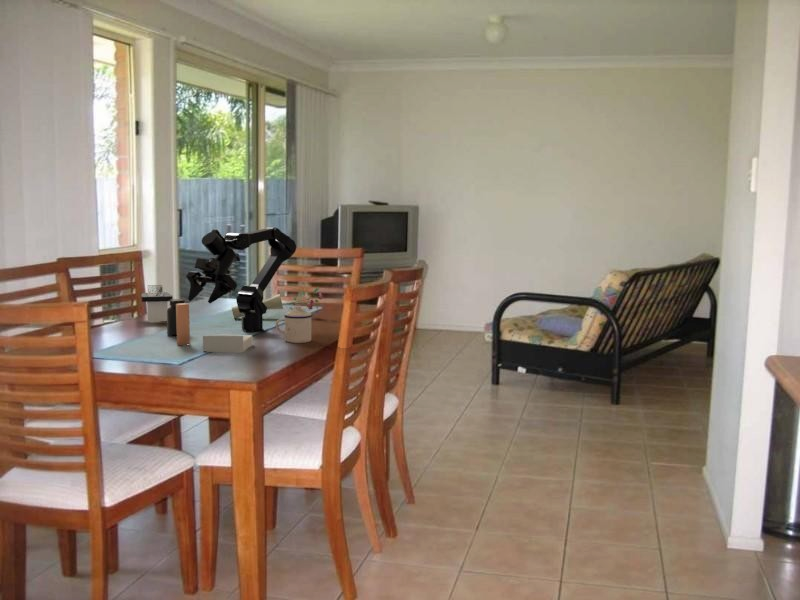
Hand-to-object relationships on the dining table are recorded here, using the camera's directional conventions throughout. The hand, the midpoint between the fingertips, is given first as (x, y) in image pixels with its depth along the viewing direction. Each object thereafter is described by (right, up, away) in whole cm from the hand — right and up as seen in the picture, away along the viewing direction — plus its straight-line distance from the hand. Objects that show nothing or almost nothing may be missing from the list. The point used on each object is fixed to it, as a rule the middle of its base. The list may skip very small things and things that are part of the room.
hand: (199, 301), depth 264 cm
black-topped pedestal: (-26, -8, +42) cm, 50 cm away
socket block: (+12, -14, -10) cm, 21 cm away
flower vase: (+18, -7, +51) cm, 54 cm away
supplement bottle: (-10, -12, +12) cm, 20 cm away
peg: (-4, -14, -6) cm, 15 cm away
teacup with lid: (+30, -13, +4) cm, 33 cm away
